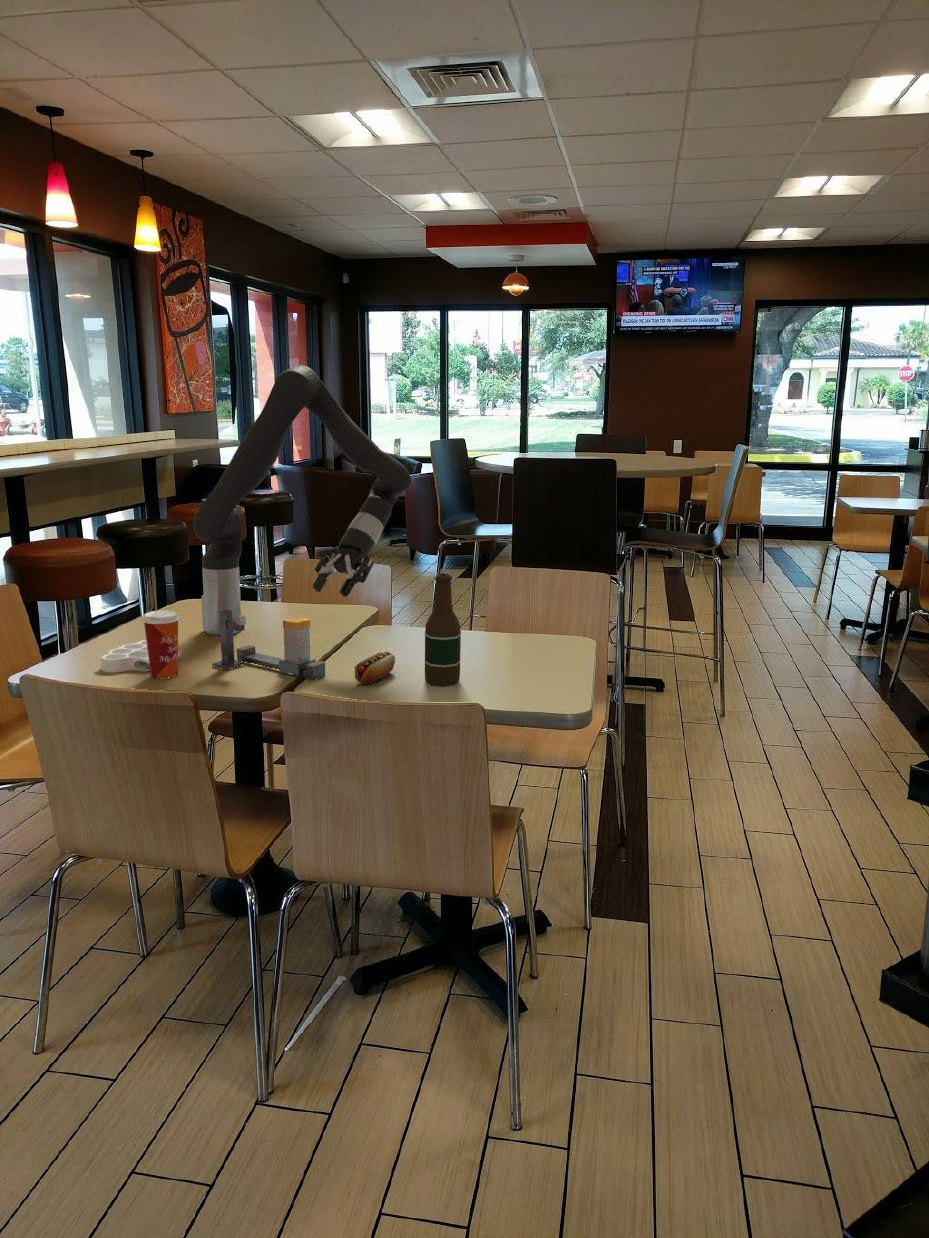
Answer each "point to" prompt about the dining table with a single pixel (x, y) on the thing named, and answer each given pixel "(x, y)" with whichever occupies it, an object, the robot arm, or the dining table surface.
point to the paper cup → (162, 642)
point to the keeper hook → (229, 639)
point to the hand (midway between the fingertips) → (329, 592)
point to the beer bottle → (442, 638)
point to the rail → (251, 656)
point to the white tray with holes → (127, 658)
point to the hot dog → (374, 667)
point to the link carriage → (296, 646)
